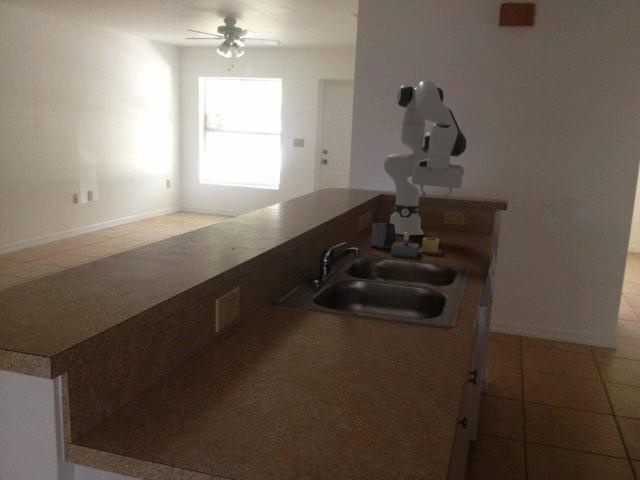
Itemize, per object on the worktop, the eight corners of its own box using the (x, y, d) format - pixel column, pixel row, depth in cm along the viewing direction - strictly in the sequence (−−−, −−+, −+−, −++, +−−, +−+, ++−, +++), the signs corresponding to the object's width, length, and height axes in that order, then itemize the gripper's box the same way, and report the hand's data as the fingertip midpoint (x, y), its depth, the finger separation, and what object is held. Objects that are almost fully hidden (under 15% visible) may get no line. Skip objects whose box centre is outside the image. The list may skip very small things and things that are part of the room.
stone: (398, 252, 244) (386, 248, 236) (378, 252, 250) (366, 248, 242) (400, 225, 246) (388, 220, 238) (380, 226, 252) (368, 221, 244)
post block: (394, 250, 238) (395, 229, 236) (418, 253, 236) (420, 231, 234) (390, 255, 228) (392, 233, 227) (415, 257, 226) (417, 235, 224)
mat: (420, 249, 245) (420, 247, 245) (441, 251, 243) (441, 250, 242) (418, 253, 236) (418, 251, 236) (440, 255, 234) (440, 254, 234)
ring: (422, 248, 243) (423, 237, 242) (438, 250, 242) (439, 238, 241) (421, 251, 237) (422, 239, 236) (437, 253, 235) (438, 241, 235)
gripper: (464, 165, 233) (461, 198, 236) (414, 161, 238) (411, 194, 241) (464, 165, 227) (460, 200, 230) (412, 162, 232) (410, 195, 235)
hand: (435, 197), depth 235 cm, fingers open, 8 cm apart
